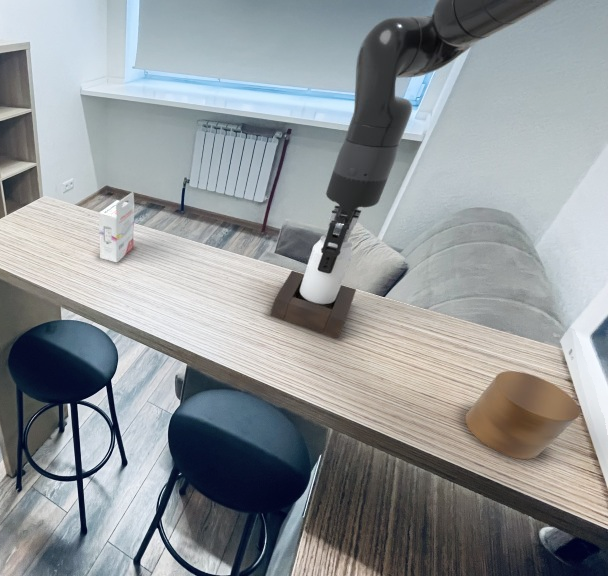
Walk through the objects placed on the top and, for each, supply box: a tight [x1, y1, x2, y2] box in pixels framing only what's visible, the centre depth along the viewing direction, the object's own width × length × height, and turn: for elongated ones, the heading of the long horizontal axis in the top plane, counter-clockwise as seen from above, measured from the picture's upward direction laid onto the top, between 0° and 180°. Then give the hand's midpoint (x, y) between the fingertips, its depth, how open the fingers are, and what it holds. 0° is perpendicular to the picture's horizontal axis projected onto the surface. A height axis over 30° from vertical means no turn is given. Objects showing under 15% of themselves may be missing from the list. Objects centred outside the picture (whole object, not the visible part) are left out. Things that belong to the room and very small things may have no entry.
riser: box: [464, 370, 581, 460], centre depth 54 cm, size 8×8×8 cm
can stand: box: [269, 270, 357, 339], centre depth 78 cm, size 12×12×4 cm
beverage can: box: [300, 235, 354, 305], centre depth 74 cm, size 6×6×12 cm
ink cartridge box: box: [98, 191, 135, 263], centre depth 94 cm, size 9×5×15 cm, turn 149°
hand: (328, 262), depth 73 cm, fingers closed on beverage can, 6 cm apart
